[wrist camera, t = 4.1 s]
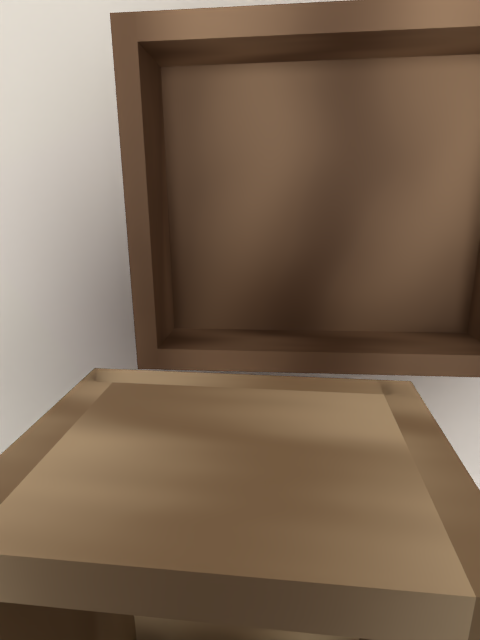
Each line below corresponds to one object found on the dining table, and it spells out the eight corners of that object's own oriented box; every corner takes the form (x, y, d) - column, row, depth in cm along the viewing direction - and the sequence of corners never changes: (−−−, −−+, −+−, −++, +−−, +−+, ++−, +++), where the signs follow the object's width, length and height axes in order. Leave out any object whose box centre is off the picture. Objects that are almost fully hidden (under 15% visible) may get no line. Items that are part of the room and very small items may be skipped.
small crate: (123, 636, 11) (10, 938, 6) (94, 368, 9) (-99, 545, 4) (377, 663, 10) (444, 1020, 6) (410, 381, 8) (550, 604, 4)
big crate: (162, 339, 20) (137, 369, 16) (144, 50, 17) (110, 13, 13) (477, 345, 19) (520, 378, 15) (520, 33, 15) (586, -12, 12)
